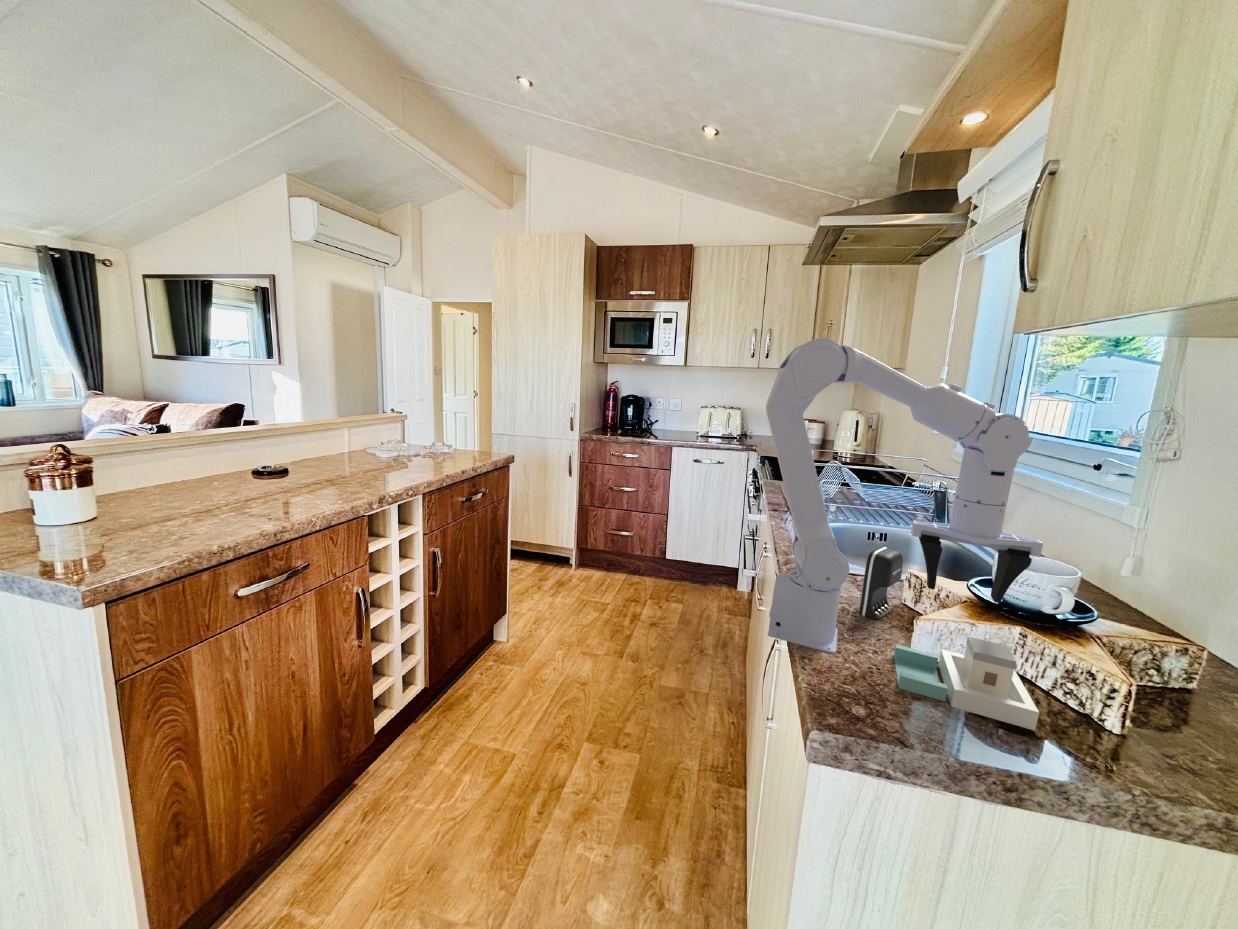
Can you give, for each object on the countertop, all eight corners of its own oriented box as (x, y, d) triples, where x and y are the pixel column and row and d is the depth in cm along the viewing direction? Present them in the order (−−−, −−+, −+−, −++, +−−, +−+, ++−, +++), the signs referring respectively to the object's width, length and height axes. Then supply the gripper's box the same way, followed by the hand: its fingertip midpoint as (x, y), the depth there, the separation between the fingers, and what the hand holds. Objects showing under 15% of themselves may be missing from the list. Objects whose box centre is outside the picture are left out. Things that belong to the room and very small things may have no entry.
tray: (950, 708, 57) (954, 689, 57) (937, 666, 66) (941, 649, 66) (1034, 732, 54) (1039, 712, 54) (1009, 684, 63) (1012, 667, 62)
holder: (944, 703, 58) (947, 688, 58) (898, 690, 60) (900, 675, 60) (934, 667, 66) (936, 654, 66) (893, 657, 68) (895, 644, 68)
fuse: (965, 695, 59) (974, 651, 58) (959, 677, 63) (967, 636, 62) (1006, 706, 57) (1016, 661, 56) (997, 688, 61) (1006, 645, 60)
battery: (881, 625, 77) (892, 559, 75) (857, 616, 80) (867, 551, 78) (897, 613, 82) (907, 550, 80) (874, 605, 85) (883, 544, 83)
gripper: (922, 497, 64) (906, 591, 67) (1059, 516, 58) (1036, 618, 61) (916, 488, 71) (901, 574, 73) (1039, 504, 65) (1019, 597, 67)
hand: (962, 593), depth 67 cm, fingers open, 7 cm apart
